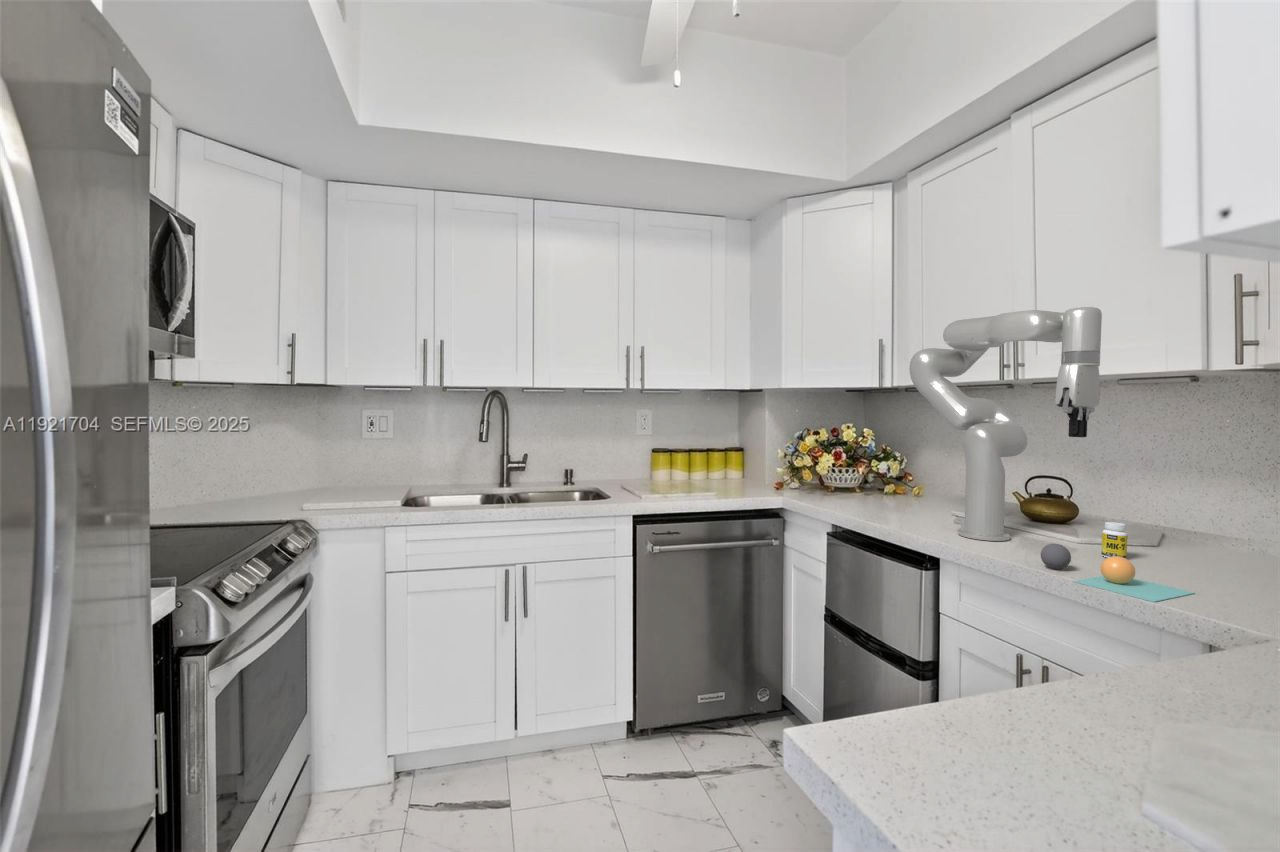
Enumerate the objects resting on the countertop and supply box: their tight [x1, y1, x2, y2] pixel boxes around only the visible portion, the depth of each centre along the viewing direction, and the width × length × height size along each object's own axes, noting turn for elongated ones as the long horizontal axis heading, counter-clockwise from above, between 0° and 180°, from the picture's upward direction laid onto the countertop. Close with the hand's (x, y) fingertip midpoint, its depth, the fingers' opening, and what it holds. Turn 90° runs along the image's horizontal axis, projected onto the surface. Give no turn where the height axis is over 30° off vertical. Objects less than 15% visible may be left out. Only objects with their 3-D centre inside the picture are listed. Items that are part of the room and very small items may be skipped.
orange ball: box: [1100, 556, 1136, 584], centre depth 123 cm, size 6×6×6 cm
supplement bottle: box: [1100, 521, 1129, 559], centre depth 145 cm, size 5×5×8 cm
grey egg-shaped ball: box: [1040, 543, 1072, 570], centre depth 134 cm, size 6×6×6 cm
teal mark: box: [1073, 575, 1196, 603], centre depth 120 cm, size 14×14×1 cm
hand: (1077, 436), depth 144 cm, fingers closed
